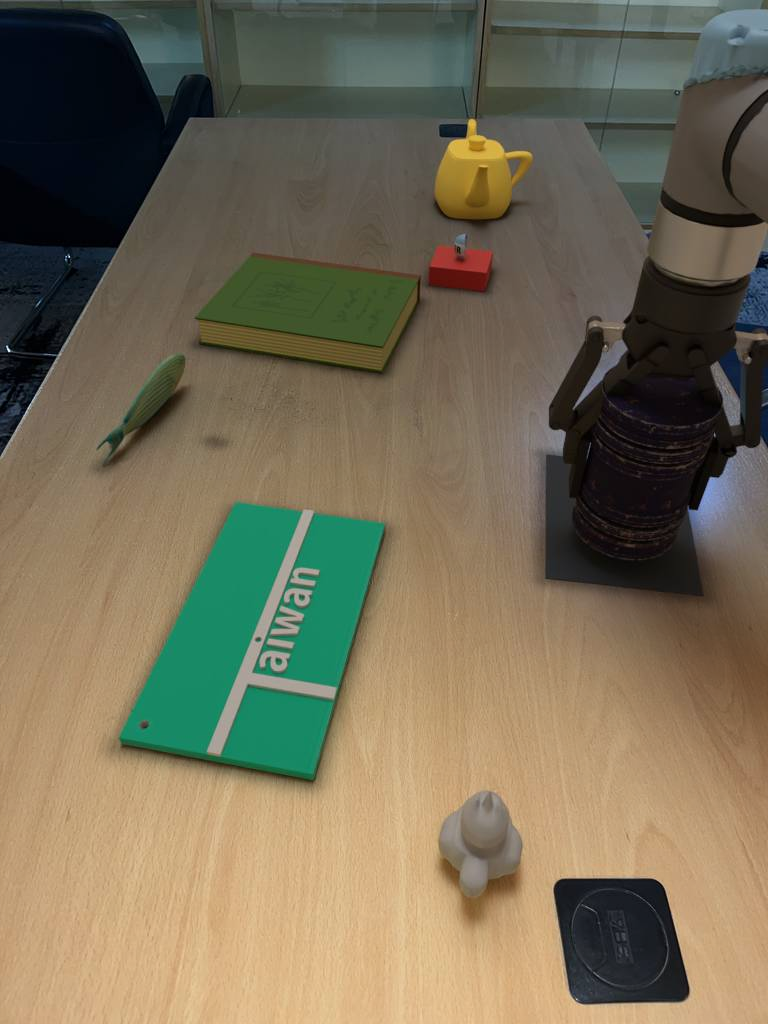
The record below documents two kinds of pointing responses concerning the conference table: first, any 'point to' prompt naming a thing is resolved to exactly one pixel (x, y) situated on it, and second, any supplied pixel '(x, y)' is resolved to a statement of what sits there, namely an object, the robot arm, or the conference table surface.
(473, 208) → the teapot
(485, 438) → the conference table surface
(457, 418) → the conference table surface
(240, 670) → the sign
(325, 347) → the book
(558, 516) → the mat
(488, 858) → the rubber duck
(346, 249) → the conference table surface
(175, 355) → the decorative fish
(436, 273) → the red rectangular block
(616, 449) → the rusty barrel
